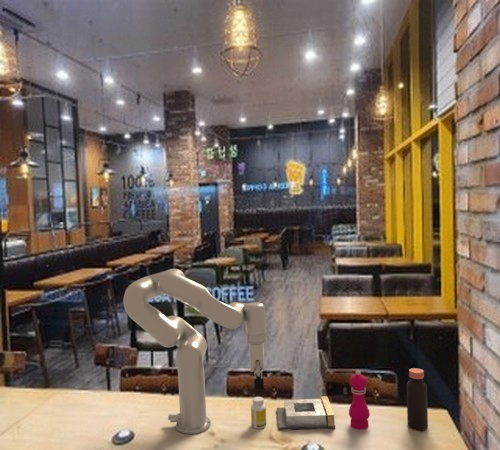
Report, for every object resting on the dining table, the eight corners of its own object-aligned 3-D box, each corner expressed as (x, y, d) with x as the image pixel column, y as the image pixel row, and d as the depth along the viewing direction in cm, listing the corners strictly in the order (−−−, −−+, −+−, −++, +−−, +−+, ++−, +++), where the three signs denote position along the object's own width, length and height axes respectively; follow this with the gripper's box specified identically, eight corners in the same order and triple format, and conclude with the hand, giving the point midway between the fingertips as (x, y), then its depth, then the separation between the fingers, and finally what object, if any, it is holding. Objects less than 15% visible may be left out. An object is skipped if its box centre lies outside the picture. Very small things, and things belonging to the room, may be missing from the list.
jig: (278, 430, 162) (278, 416, 162) (276, 410, 178) (276, 397, 178) (335, 428, 162) (334, 414, 161) (328, 408, 178) (327, 396, 177)
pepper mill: (370, 430, 159) (369, 374, 158) (349, 429, 161) (347, 373, 160) (369, 421, 166) (367, 367, 165) (349, 420, 168) (347, 366, 167)
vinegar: (412, 420, 166) (411, 365, 165) (431, 426, 161) (430, 370, 160) (404, 426, 161) (402, 371, 160) (422, 433, 156) (421, 375, 156)
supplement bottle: (269, 424, 167) (268, 397, 166) (261, 430, 162) (260, 403, 162) (256, 420, 170) (255, 394, 169) (248, 427, 165) (247, 400, 165)
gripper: (246, 331, 173) (249, 376, 174) (245, 345, 156) (248, 394, 157) (266, 330, 173) (268, 374, 174) (267, 343, 156) (270, 393, 157)
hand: (259, 384), depth 165 cm, fingers open, 9 cm apart
